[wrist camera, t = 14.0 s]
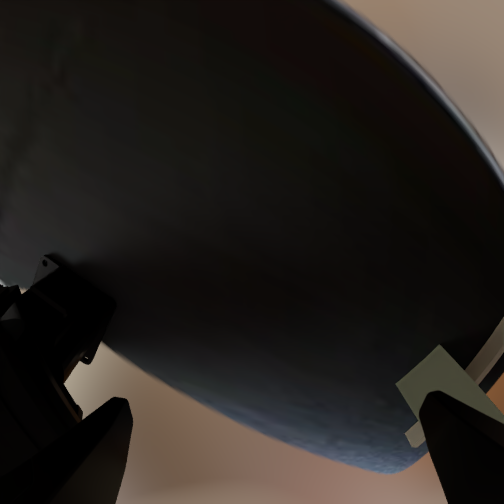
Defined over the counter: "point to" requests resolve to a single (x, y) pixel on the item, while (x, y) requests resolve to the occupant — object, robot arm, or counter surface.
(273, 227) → the counter surface
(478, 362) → the rail
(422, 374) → the tea box
